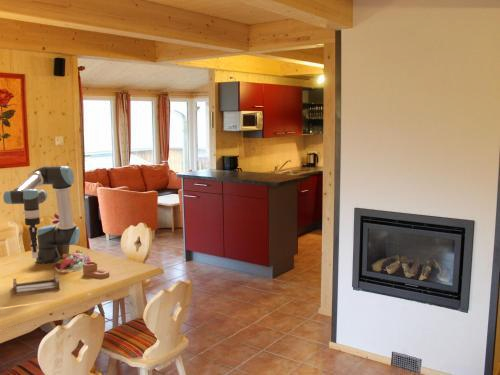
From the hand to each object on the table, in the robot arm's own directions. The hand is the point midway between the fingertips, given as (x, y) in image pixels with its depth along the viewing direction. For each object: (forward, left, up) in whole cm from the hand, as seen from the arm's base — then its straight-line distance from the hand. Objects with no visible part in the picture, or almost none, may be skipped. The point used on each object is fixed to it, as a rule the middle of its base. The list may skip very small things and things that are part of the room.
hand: (34, 254), depth 277 cm
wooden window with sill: (+2, 0, -19) cm, 19 cm away
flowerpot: (-68, +18, -19) cm, 73 cm away
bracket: (-9, +34, -19) cm, 40 cm away
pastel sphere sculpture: (-35, +23, -20) cm, 46 cm away
